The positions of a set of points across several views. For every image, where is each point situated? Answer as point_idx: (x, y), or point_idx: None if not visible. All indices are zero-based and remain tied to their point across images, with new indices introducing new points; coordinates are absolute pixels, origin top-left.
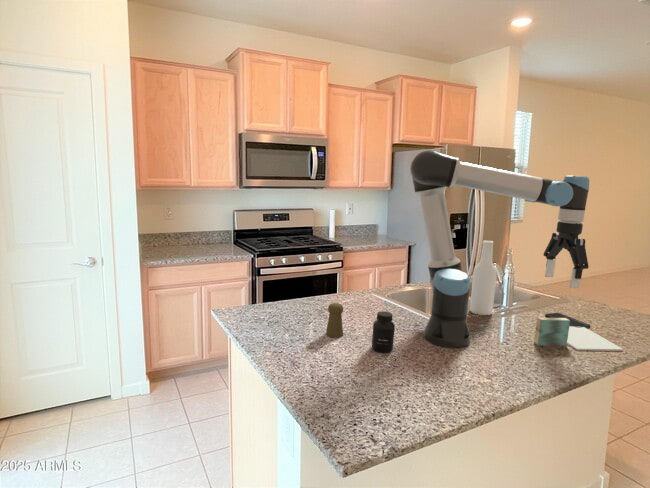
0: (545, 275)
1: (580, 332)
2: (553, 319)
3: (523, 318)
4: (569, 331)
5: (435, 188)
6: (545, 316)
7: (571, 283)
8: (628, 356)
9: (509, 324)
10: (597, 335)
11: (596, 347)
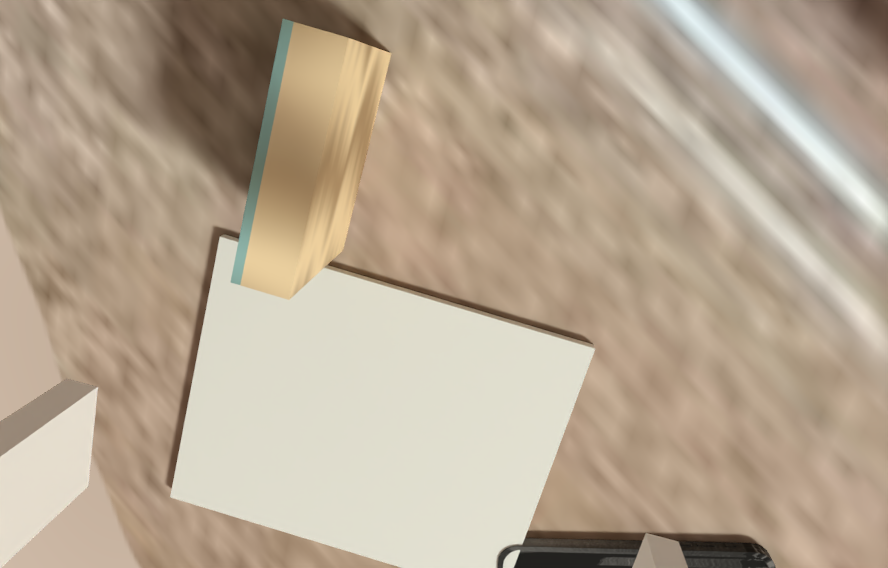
0: (675, 554)
1: (428, 493)
2: (275, 154)
3: (792, 360)
4: (460, 441)
5: None
6: (757, 545)
7: (34, 411)
8: (112, 450)
9: (731, 144)
10: (364, 546)
11: (215, 373)
